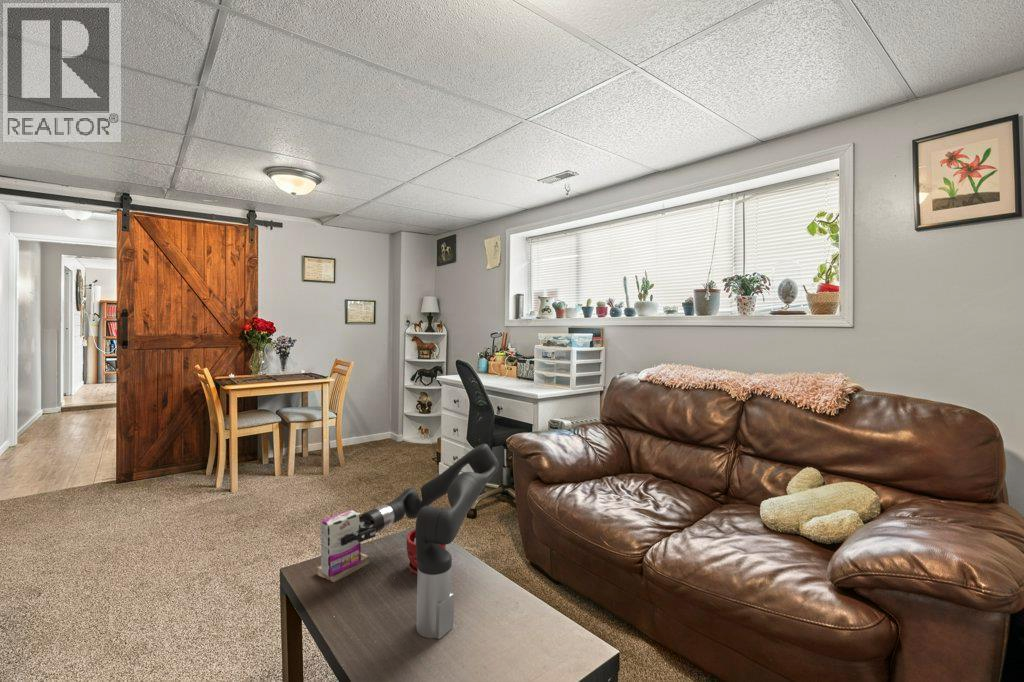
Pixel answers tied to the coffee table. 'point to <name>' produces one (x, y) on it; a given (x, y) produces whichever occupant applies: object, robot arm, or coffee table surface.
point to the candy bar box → (339, 543)
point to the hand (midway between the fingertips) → (335, 539)
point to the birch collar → (340, 575)
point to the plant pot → (414, 551)
